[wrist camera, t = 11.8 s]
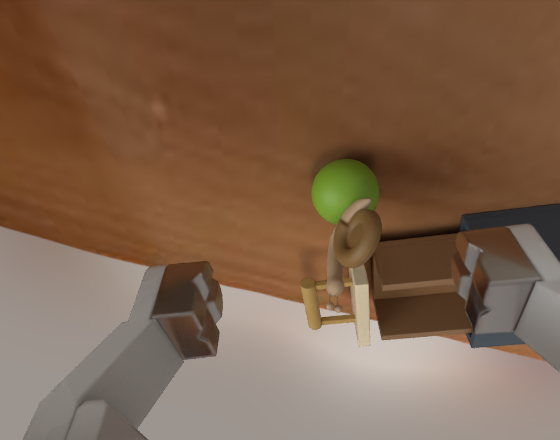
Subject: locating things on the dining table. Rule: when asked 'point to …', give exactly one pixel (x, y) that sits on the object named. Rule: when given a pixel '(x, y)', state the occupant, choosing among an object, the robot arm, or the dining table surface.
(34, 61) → the dining table surface
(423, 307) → the drawer
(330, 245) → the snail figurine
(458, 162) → the dining table surface
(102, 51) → the dining table surface
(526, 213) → the cabinet
